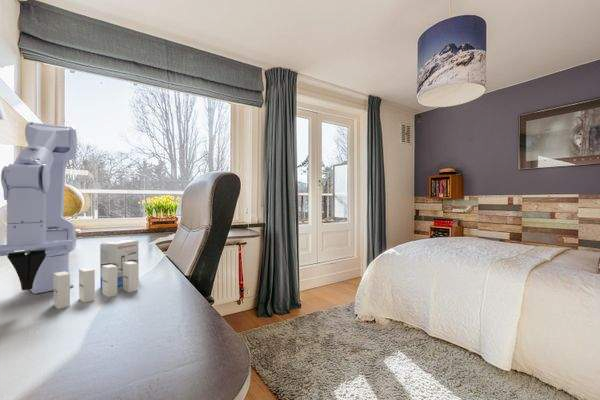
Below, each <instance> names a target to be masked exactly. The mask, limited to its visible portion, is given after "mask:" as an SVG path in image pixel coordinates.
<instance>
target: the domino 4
mask: <svg viewBox="0 0 600 400" xmlns="http://www.w3.org/2000/svg"><path fill="white" fill-rule="evenodd" d="M138 281H139V262H138V263H136V262H133V261H129V262H123V285H122V289H123V291H126V292H127V293H132V292H135V291H138V290H139V287H138V286H139V285H138V283H139V282H138Z"/></svg>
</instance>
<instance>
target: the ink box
mask: <svg viewBox="0 0 600 400" xmlns="http://www.w3.org/2000/svg"><path fill="white" fill-rule="evenodd" d="M99 245H100V246H99V248H100V249H99V260H100V261H99V264H100V265H99V267H100V274H99V275H100V288H102V266H103V265H109V264H112V265H115V266H117V288H118V287H121V286H122V287H123V262H129V261H133V262H136V263H138V264H139V240H137V239H121V240H114V241H106V242H102V243H100V244H99Z"/></svg>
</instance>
